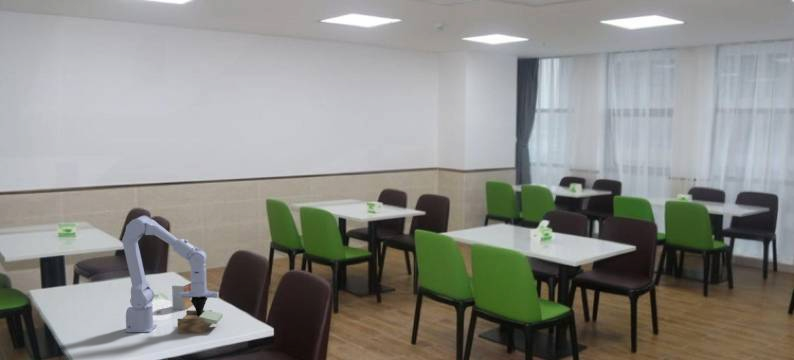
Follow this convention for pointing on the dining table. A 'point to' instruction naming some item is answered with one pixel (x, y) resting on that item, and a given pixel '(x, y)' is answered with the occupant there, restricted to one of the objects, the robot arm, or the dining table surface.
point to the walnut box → (192, 323)
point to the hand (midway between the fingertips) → (199, 315)
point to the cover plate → (211, 316)
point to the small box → (177, 301)
